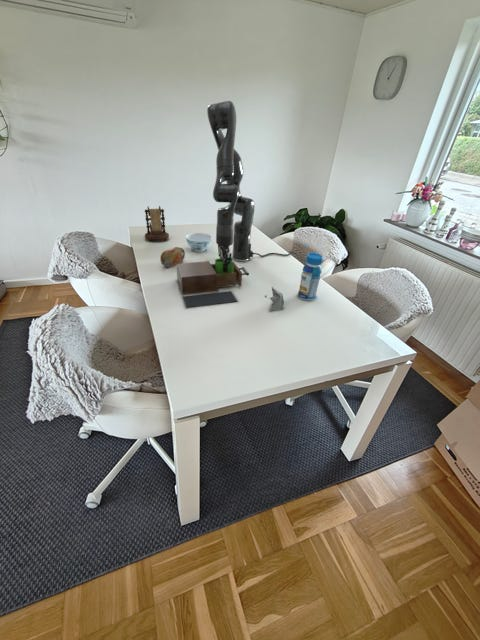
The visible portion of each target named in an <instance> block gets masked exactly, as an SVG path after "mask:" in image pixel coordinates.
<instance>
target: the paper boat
mask: <svg viewBox="0 0 480 640" xmlns="http://www.w3.org/2000/svg"><path fill="white" fill-rule="evenodd" d="M271 291H272V296H270V297H269V299H270V301H271V302H273V305H272V306H271V308H270V310H269V312H275V311H279V310H280V311H281V310H282V309H283V307H284V303H285V300H284V294H283V293H282V292H280V291H279V290H277V288H274V287H273V286H271ZM267 296H268V295H264V298H266V299H267V298H268V297H267Z"/></svg>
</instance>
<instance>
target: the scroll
mask: <svg viewBox="0 0 480 640" xmlns="http://www.w3.org/2000/svg"><path fill="white" fill-rule="evenodd" d="M164 212H165V209H164V208H161V206H160V205H159V206H158V208H150V207H149V206H147V209H144V213H145V222H146V227H145V228H146V229H147V231H146V233H145V234H144V238H145V239H146V240H149V242H150V243H151V242H152V241H157V242H158V241H164V240H165V242H167V240H168V239H169V237H170V234H169V233H168V232H167V231H166V223H165V221H166V216H165V213H164Z"/></svg>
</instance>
